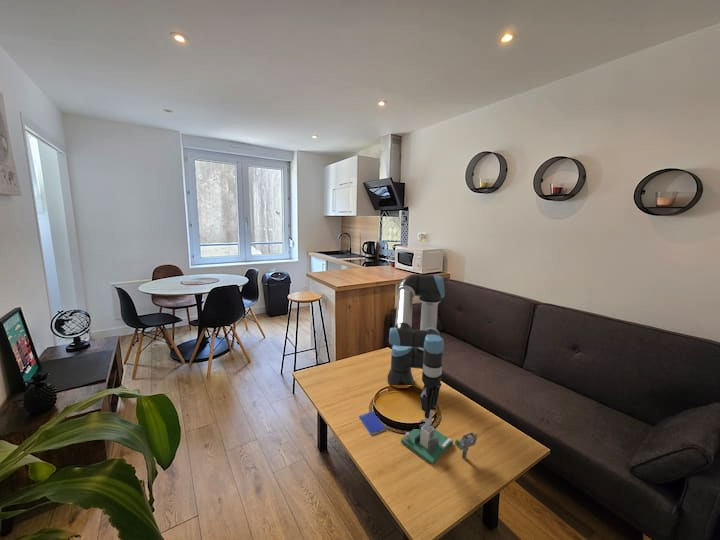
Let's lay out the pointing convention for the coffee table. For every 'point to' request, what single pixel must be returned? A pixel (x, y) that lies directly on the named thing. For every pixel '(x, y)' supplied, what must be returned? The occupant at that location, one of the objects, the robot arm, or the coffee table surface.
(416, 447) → the board
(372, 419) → the hard drive
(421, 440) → the plug
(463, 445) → the mechanical component
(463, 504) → the coffee table surface
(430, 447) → the header
